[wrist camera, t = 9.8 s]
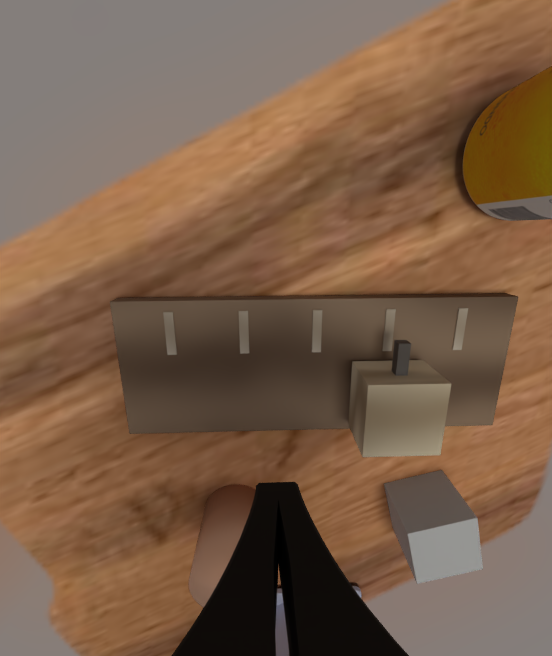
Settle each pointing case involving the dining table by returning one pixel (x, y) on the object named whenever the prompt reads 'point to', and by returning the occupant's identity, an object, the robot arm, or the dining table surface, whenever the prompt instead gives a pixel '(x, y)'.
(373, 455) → the birch slider
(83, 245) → the dining table surface
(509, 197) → the beer can
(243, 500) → the terracotta cylinder
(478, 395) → the board
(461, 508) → the grey cube
